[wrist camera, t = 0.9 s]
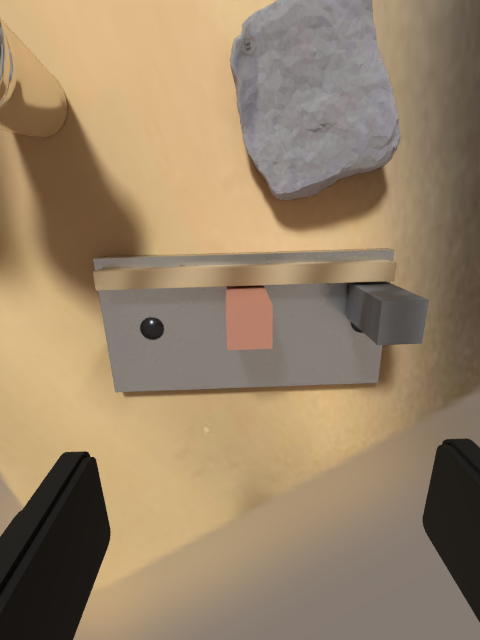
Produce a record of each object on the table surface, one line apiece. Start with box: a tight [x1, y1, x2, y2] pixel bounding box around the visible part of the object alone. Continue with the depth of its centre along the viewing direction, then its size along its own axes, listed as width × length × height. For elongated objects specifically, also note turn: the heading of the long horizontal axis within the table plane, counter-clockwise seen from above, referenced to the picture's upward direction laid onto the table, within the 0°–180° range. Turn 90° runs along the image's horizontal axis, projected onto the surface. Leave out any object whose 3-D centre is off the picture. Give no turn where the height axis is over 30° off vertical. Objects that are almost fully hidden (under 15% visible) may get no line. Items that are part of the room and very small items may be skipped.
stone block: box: [230, 0, 400, 200], centre depth 23 cm, size 12×5×10 cm
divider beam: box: [93, 260, 429, 346], centre depth 24 cm, size 23×6×6 cm, turn 92°
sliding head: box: [226, 285, 273, 351], centre depth 24 cm, size 3×4×6 cm
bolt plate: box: [93, 248, 394, 392], centre depth 28 cm, size 24×12×1 cm, turn 92°
